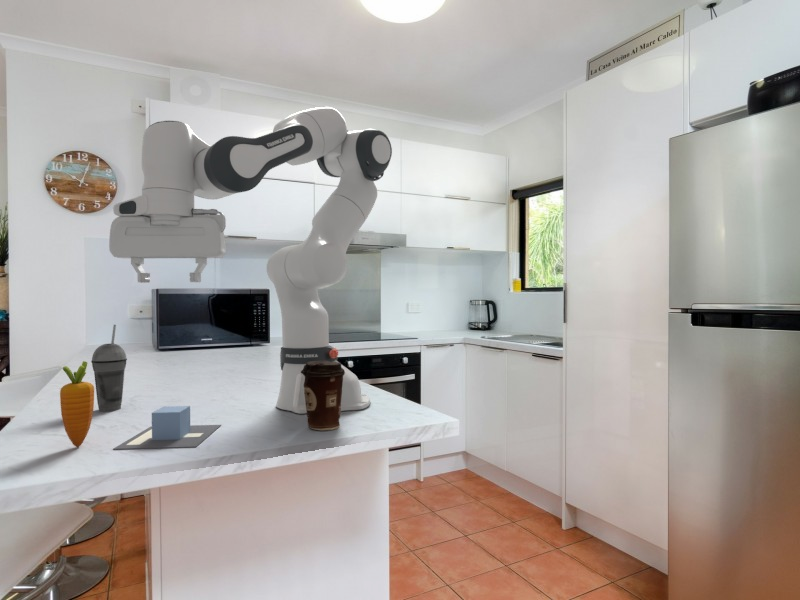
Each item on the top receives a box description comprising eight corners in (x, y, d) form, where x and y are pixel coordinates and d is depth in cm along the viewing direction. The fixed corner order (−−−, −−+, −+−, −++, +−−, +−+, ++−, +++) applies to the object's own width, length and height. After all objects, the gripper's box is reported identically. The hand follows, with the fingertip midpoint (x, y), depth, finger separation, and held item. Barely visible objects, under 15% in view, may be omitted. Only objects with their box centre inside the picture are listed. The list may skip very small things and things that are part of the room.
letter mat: (221, 425, 96) (221, 424, 96) (196, 447, 82) (196, 446, 82) (150, 427, 95) (150, 426, 95) (113, 449, 81) (113, 448, 81)
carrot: (61, 453, 80) (60, 365, 79) (60, 446, 83) (59, 361, 83) (96, 447, 83) (95, 362, 82) (93, 440, 87) (92, 359, 86)
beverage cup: (94, 407, 113) (93, 324, 113) (129, 404, 116) (128, 323, 116) (88, 414, 106) (87, 326, 106) (126, 410, 109) (125, 325, 109)
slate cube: (190, 431, 91) (190, 405, 91) (180, 439, 86) (179, 412, 86) (163, 432, 91) (163, 406, 91) (152, 440, 86) (151, 412, 86)
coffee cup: (303, 434, 89) (302, 366, 89) (299, 423, 97) (298, 360, 97) (348, 430, 92) (347, 364, 92) (341, 419, 100) (340, 358, 100)
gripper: (230, 212, 92) (231, 282, 92) (122, 211, 91) (123, 283, 91) (220, 205, 86) (220, 281, 86) (103, 205, 85) (104, 282, 85)
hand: (169, 282), depth 89 cm, fingers open, 8 cm apart
